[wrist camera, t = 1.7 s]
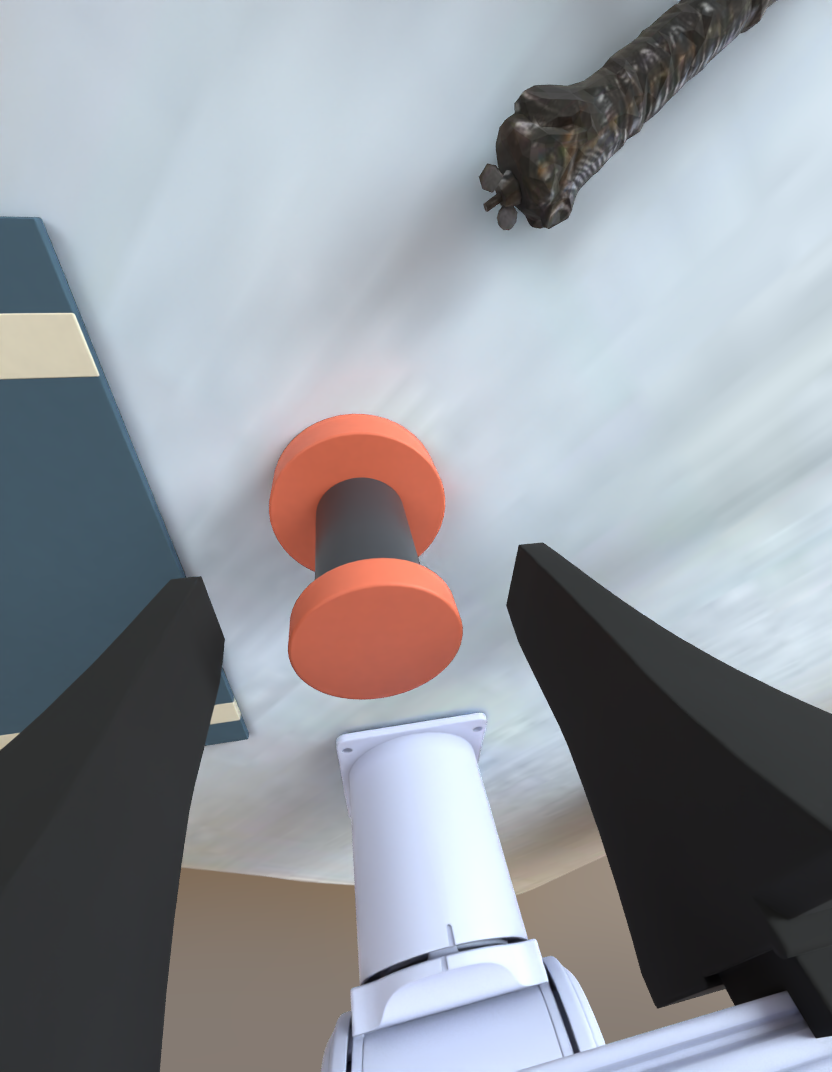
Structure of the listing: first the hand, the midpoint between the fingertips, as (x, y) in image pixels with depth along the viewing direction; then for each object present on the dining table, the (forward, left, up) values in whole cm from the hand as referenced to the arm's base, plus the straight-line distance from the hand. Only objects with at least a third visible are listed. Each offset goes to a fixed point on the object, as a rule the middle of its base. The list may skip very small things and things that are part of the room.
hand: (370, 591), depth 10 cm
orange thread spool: (0, 0, -5) cm, 5 cm away
